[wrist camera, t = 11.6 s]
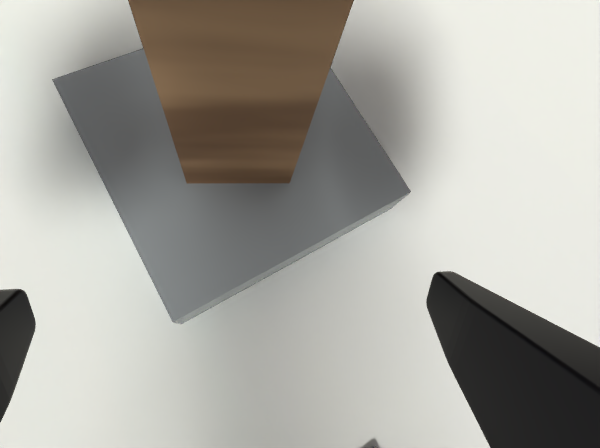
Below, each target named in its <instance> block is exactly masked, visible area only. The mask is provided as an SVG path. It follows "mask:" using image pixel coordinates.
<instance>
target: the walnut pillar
mask: <svg viewBox="0 0 600 448" xmlns="http://www.w3.org/2000/svg"><path fill="white" fill-rule="evenodd" d="M128 1H129V4H130V7H131V11H132V14H133V17H134V20H135V23H136V26H137V29H138V33H139V36H140V39H141V42H142V45H143V48H144V51H145V54H146V58H147V61H148V64H149V67H150V70H151V73H152V76H153V79H154V83H155V86H156V89H157V92H158V95H159V98H160V101H161V105H162V108H163V111H164V114H165V117H166V120H167V123H168V126H169V130H170V133H171V136H172V139H173V142H174V145H175V148H176V152H177V155H178V158H179V161H180V164H181V167H182V170H183V173H184V177H185V180H186V183H187V184H193V183H290V181H291V178H292V175H293V172H294V169H295V167H296V164H297V161H298V158H299V155H300V152H301V149H302V147H303V144H304V141H305V138H306V135H307V132H308V129H309V127H310V124H311V121H312V118H313V115H314V112H315V109H316V107H317V104H318V101H319V98H320V95H321V92H322V89H323V87H324V84H325V81H326V78H327V75H328V72H329V69H330V67H331V64H332V61H333V58H334V55H335V52H336V50H337V47H338V44H339V41H340V38H341V35H342V32H343V30H344V27H345V24H346V21H347V18H348V15H349V12H350V10H351V7H352V4H353V1H354V0H128Z"/></svg>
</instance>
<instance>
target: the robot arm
mask: <svg viewBox="0 0 600 448" xmlns="http://www.w3.org/2000/svg"><path fill="white" fill-rule="evenodd" d="M427 308H428V311H429V314H430V317H431V319H432V322H433V325H434V327H435V330H436V333H437V335H438V338H439V341H440V343H441V346H442V348H443V351H444V354H445V356H446V359H447V361H448V363H449V366H450V368H451V370H452V372H453V374H454V376H455V378H456V380H457V382H458V384H459V386H460V388H461V390H462V392H463V394H464V396H465V398H466V400H467V402H468V404H469V406H470V408H471V410H472V412H473V414H474V416H475V418H476V420H477V422H478V424H479V426H480V428H481V430H482V432H483V434H484V436H485V438H486V440H487V442H488V443H489V445H490V447H491V448H600V347H598V346H596V345H594V344H592V343H590V342H588V341H586V340H584V339H582V338H580V337H578V336H576V335H574V334H573V333H571V332H569V331H567V330H565V329H563V328H561V327H559V326H557V325H555V324H553V323H551V322H549V321H547V320H545V319H544V318H542V317H540V316H538V315H536V314H534V313H532V312H530V311H528V310H526V309H524V308H522V307H520V306H518V305H516V304H514V303H513V302H511V301H509V300H507V299H505V298H503V297H501V296H499V295H497V294H495V293H493V292H491V291H489V290H487V289H485V288H483V287H482V286H480V285H478V284H476V283H474V282H472V281H470V280H468V279H466V278H464V277H462V276H460V275H458V274H456V273H454V272H451V271H447V272H437V273H435V274H434V275H433V278H432V281H431V285H430V289H429V292H428V296H427ZM35 325H36V323H35V318H34V315H33V312H32V309H31V306H30V303H29V300H28V297H27V294H26V293H25V291H23V290H21V289H7V290H0V422H1V420H2V418H3V416H4V414H5V412H6V409H7V407H8V405H9V403H10V400H11V398H12V395H13V393H14V390H15V387H16V384H17V381H18V378H19V375H20V373H21V370H22V367H23V364H24V361H25V358H26V355H27V352H28V349H29V346H30V343H31V340H32V338H33V335H34V332H35Z"/></svg>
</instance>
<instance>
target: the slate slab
mask: <svg viewBox="0 0 600 448" xmlns="http://www.w3.org/2000/svg"><path fill="white" fill-rule="evenodd" d="M52 80H53V82H54V84H55V86H56V88H57V90H58V92H59V94H60V96H61V98H62V100H63V102H64V104H65V106H66V108H67V110H68V112H69V114H70V116H71V118H72V120H73V122H74V124H75V126H76V128H77V130H78V132H79V134H80V136H81V138H82V140H83V142H84V144H85V147H86V149H87V151H88V153H89V155H90V157H91V159H92V161H93V163H94V165H95V167H96V169H97V171H98V173H99V175H100V177H101V179H102V181H103V183H104V185H105V187H106V189H107V191H108V193H109V195H110V197H111V199H112V201H113V203H114V205H115V207H116V209H117V211H118V213H119V215H120V217H121V219H122V221H123V223H124V225H125V227H126V229H127V231H128V233H129V235H130V237H131V239H132V241H133V243H134V245H135V247H136V249H137V251H138V253H139V255H140V257H141V259H142V261H143V263H144V265H145V267H146V269H147V271H148V273H149V275H150V277H151V279H152V281H153V283H154V285H155V287H156V289H157V291H158V293H159V295H160V297H161V299H162V301H163V303H164V305H165V307H166V309H167V311H168V313H169V315H170V317H171V319H172V321H173V322H175V323H179V324H182V323H184V322H186V321H188V320H190V319H191V318H193V317H195V316H197V315H199V314H200V313H202V312H204V311H206V310H208V309H209V308H211V307H213V306H215V305H217V304H219V303H220V302H222V301H224V300H226V299H228V298H229V297H231V296H233V295H235V294H237V293H239V292H240V291H242V290H244V289H246V288H248V287H249V286H251V285H253V284H255V283H257V282H258V281H260V280H262V279H264V278H266V277H268V276H269V275H271V274H273V273H275V272H277V271H278V270H280V269H282V268H284V267H286V266H288V265H289V264H291V263H293V262H295V261H297V260H298V259H300V258H302V257H304V256H306V255H307V254H309V253H311V252H313V251H315V250H317V249H318V248H320V247H322V246H324V245H326V244H327V243H329V242H331V241H333V240H335V239H336V238H338V237H340V236H342V235H344V234H346V233H347V232H349V231H351V230H353V229H355V228H356V227H358V226H360V225H362V224H364V223H366V222H367V221H369V220H371V219H373V218H375V217H376V216H378V215H380V214H382V213H384V212H385V211H387V210H389V209H391V208H392V207H393V206H395V205H396V204H397V203H398V202H399V201H401V200H402V199H403V198H404V197H405V196H407V195H408V194H409V193H410V192H411V191H410V190H409V188H408V186H407V185H406V183H405V182H404V180H403V179H402V177H401V176H400V174H399V173H398V171H397V169H396V168H395V166H394V165H393V163H392V162H391V160H390V159H389V157H388V156H387V154H386V153H385V151H384V149H383V148H382V146H381V145H380V143H379V142H378V140H377V139H376V137H375V136H374V134H373V133H372V131H371V129H370V128H369V126H368V125H367V123H366V122H365V120H364V119H363V117H362V116H361V114H360V113H359V111H358V109H357V108H356V106H355V105H354V103H353V102H352V100H351V99H350V97H349V96H348V94H347V93H346V91H345V89H344V88H343V86H342V85H341V83H340V82H339V80H338V79H337V77H336V76H335V74H334V72H333V71H332V69H331V68H330V69H329V72H328V75H327V78H326V81H325V84H324V87H323V89H322V92H321V95H320V98H319V101H318V104H317V107H316V109H315V112H314V115H313V118H312V121H311V124H310V127H309V129H308V132H307V135H306V138H305V141H304V144H303V147H302V149H301V152H300V155H299V158H298V161H297V164H296V167H295V169H294V172H293V175H292V178H291V181H290V183H193V184H187V183H186V180H185V177H184V173H183V170H182V167H181V164H180V161H179V158H178V155H177V152H176V148H175V145H174V142H173V139H172V136H171V133H170V130H169V126H168V123H167V120H166V117H165V114H164V111H163V108H162V105H161V101H160V98H159V95H158V92H157V89H156V86H155V83H154V79H153V76H152V73H151V70H150V67H149V64H148V61H147V58H146V54H145V51H144V49H141V50H138V51H135V52H132V53H129V54H126V55H123V56H120V57H117V58H114V59H111V60H108V61H105V62H102V63H99V64H96V65H93V66H91V67H88V68H85V69H82V70H79V71H76V72H73V73H70V74H67V75H64V76H61V77H58V78H55V79H52Z"/></svg>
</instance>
